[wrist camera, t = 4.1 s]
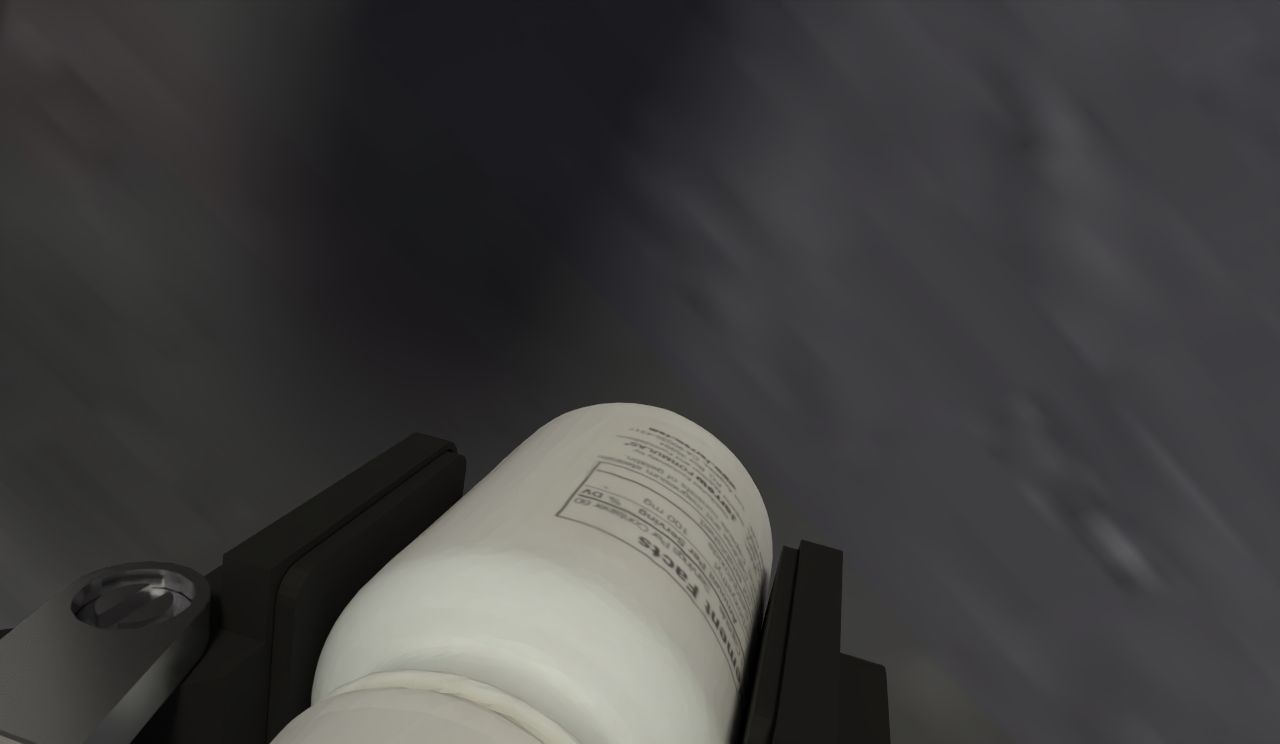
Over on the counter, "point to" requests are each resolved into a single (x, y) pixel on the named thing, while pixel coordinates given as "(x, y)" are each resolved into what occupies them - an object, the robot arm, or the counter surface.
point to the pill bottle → (563, 600)
